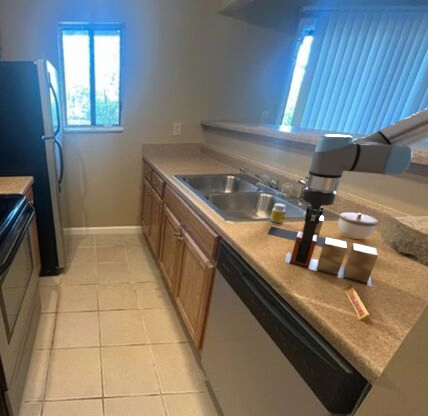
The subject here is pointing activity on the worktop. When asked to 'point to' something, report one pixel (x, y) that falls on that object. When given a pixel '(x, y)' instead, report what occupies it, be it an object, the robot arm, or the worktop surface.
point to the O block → (317, 227)
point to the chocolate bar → (357, 305)
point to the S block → (296, 247)
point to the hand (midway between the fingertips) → (301, 257)
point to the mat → (291, 235)
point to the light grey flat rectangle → (314, 265)
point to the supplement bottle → (278, 214)
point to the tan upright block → (332, 255)
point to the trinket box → (356, 225)
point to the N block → (360, 262)
